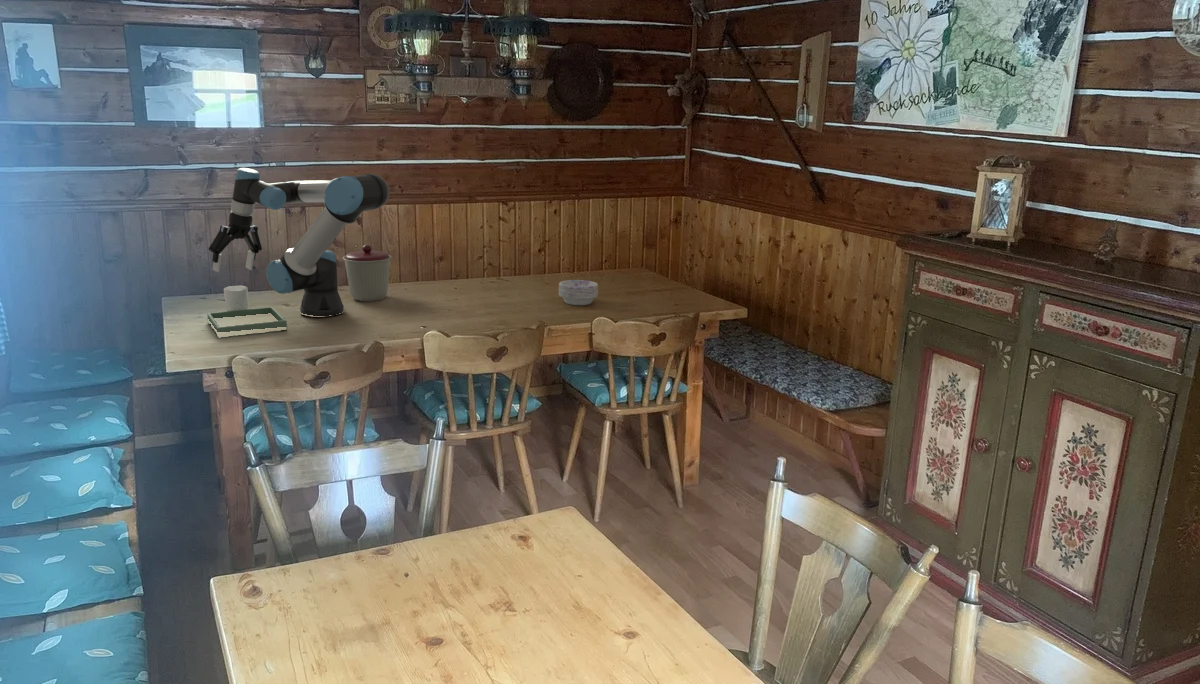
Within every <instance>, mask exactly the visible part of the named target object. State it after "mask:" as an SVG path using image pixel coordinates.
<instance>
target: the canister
mask: <svg viewBox="0 0 1200 684" xmlns="http://www.w3.org/2000/svg"><path fill="white" fill-rule="evenodd" d="M372 249H373V248H372V246H371V245H369V244H364V245H363V246H362V247H361V250H357V251H351V252H349V253H346V255H344V256H342V260H344V264H345V270H346V277H347V281H348V288H349V292H350V295H351V298H353V299H354V300H356V301H358V300H360V301H359V302H376V301H375V300H378V301H381V300H384V299H385V298H386V296H387V295H388V289H389V280H390V279H389V278H390V264H391V263H390V261H391V259H392V255H390V254H389V253H387V252H385V251H382V250H372Z"/></svg>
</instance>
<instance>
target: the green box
mask: <svg viewBox="0 0 1200 684" xmlns="http://www.w3.org/2000/svg"><path fill="white" fill-rule="evenodd" d="M268 313H271V314H272V315H273V316H274V317H275V318H276V319H277V320H278V321H273V322H263V323H254V324H244V325H235V326H226V327H219V325H218V324H217V322H216V321H215V320H214V318H223V317H235V316H246V315H256V314H268ZM206 314H207V320H208V319H209V321H210V322H211V323H212V325H213V326H214V328H215V329H216V330H217V332H230V331H241V330H251V329H252V330H253V329H265V328H277V327H287V328H288V324H287V319H285V318H284V317H283V316H282V314H280V313H279V312H278V311H277V309H275V308H274V307H273V306H266V307H257V308H248V309H245V310H235V311H227V310H225V311H216V312H215V311H214V312H207V313H206Z"/></svg>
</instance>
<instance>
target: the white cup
mask: <svg viewBox="0 0 1200 684" xmlns="http://www.w3.org/2000/svg"><path fill="white" fill-rule="evenodd" d="M248 290H249V289H248V286H246V285H231V286H230V285H229V286H227V287H224V288H223V295H224V303H225V307H226V308H225V309H226V311H235V310H245V309H249V291H248Z"/></svg>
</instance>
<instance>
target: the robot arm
mask: <svg viewBox="0 0 1200 684" xmlns="http://www.w3.org/2000/svg"><path fill="white" fill-rule="evenodd" d="M260 176H261V174H260V172H259V171H257V170H256V169H253V168H248V167H240V168H238V169H237V171H236V175H235V178H234V186H233V192H232V200H231V205H230V206H231V207H230V210H231V211H230V212H229V216H228V222H229V224H228V226H225V225H224V224H221V225H220V227H219V230H218V232H217V234H216V235H215V237H214V239H213V241H212V242H211V244H210V245H209V247H208V251H209V252H212V253H213V254H212V258H211V259H212V263H213V265H212V268H211V269H212V271H214V272H216V273H220V269H221V262H222V255H223V254H222V252H223V251H224V250H225V249H226V247H227V246H228V245H229V244H231V242H232V241H234V240H238V239H240V240H241V239H242V240H243V239H244V241H245V243H246V245H247V247H248V248H249V249H250V250H248V251H247V255H246V256H247V257H246V260H245V268H246V269H248V270H249V271H252V270H253V265H254V261H255V260H256V255H257V254H259V251H262V249H263V248H262V244H261V241H260V237H259V232H258V230H259V227H258V226H256V225H254V224H252V223H253V218H254V211H255V207H256V203H257V204H259V205H261V206H263V207H264V208H267V209H270V210H274V211H277V210H280V209H281V208H283V207H284V206H285V205H287V204H295V203H297V204H298V203H324V204H323V205H324V208H323V209H322V211H321V212H320V214H319V215H318V216H317V217H316V219H315V220H314V221H313V223H312V224H311V225H310V227H309V228H308V229H307V230H306V232H305V233H304V235H302V237H301V238H300V240H299V241H298V242H297V244H296V245H295V246H294V247H291V248H288V249H287V250H286V251H285V252H284V253H283V255H281V257H280V258H279V259H273V260H272V261H270V262H269V263H268V264H267V267H266V270H265V271H266V279H267V281H268V283H269V286H270V287H271V288H272V289H273V290H274V291H275V293H278V294H281V295H282V294H291V293H295V292H298V291H302V290H303V296H302V300H301V304H300V308H299V309H300V310H299V312H301V313H303V314H307V315H313V316H329V315H336V314H339V313H342V312H343V311H344V312H345V307H344V304H343V302H342V299H341V296H340V293H339V290H338V289H339V288H338V269H337V263H338V262H337V257H336V253H335V252H334V251H332V250H330V249H329V250H328V248H330V246H331V245H332V243H333V242H334V241H335V240H336V238H337V237H338V236H339V234H341V232H342V230H343V229H344V228H345V227H346V226H347V224H353V223H355V222H356V221H357V220H358V218H359V217H360V216H361V215H362V213H364V212H365V211H373V210H377V209H379V208H381V207H383V206H384V205H385V204H386V203H387V202H388V201H389V198H390V187H389V184H388V182H387V181H386V179H385V178H383V177H382V176H380V175H379V174H374V173H365V174H357V175H342V176H338V177H336V178H333V179H329V180H328V179H326V180H325V179H321V180H320V179H319V180H315V179H314V180H305V179H297V180H291V181H284V182H283V181H282V182H281V181H280V182H273V183H267V182H264V181H263V180H260V179H261V177H260ZM249 233H250V234H249ZM250 235H251V236H250ZM342 314H343V313H342Z"/></svg>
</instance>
